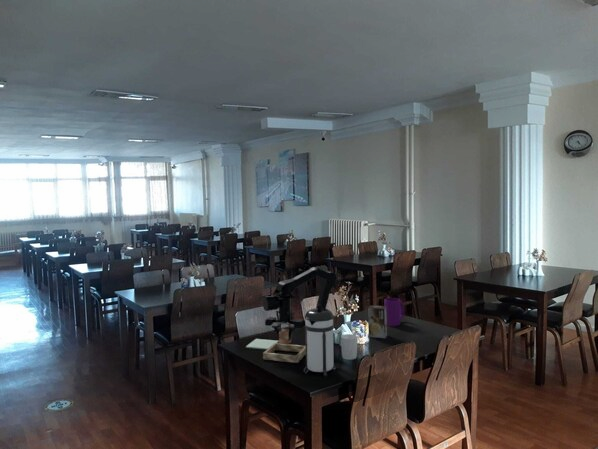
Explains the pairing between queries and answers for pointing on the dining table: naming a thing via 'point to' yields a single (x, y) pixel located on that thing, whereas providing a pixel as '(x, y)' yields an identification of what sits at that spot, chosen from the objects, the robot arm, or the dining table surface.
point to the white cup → (349, 346)
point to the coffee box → (377, 321)
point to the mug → (394, 311)
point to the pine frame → (283, 357)
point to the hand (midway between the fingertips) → (285, 339)
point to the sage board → (261, 344)
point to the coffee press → (319, 340)
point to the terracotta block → (284, 336)
